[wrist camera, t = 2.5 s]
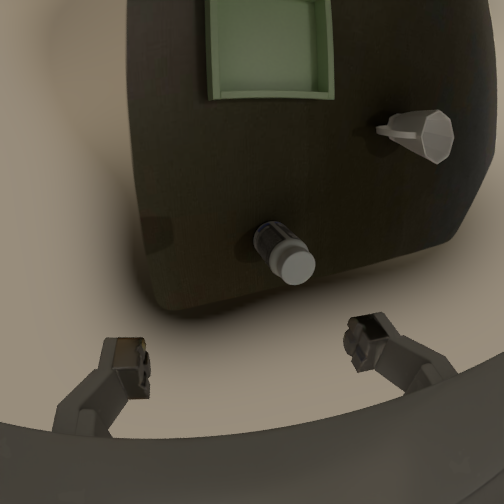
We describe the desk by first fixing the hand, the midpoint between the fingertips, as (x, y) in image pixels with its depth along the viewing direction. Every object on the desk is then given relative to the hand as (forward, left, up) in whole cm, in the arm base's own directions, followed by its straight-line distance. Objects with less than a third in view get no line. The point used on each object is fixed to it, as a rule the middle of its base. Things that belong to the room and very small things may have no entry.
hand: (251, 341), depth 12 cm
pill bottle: (+10, -8, -26) cm, 29 cm away
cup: (+28, +6, -26) cm, 38 cm away
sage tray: (+10, +16, -25) cm, 32 cm away
